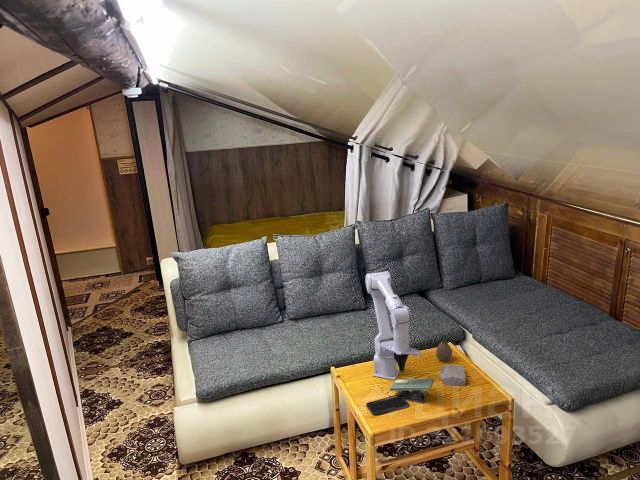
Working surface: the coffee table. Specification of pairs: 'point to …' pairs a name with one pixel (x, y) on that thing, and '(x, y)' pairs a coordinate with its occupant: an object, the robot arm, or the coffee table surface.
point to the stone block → (452, 375)
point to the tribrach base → (413, 395)
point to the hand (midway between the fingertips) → (402, 370)
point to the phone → (386, 405)
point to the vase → (444, 352)
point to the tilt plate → (412, 384)
